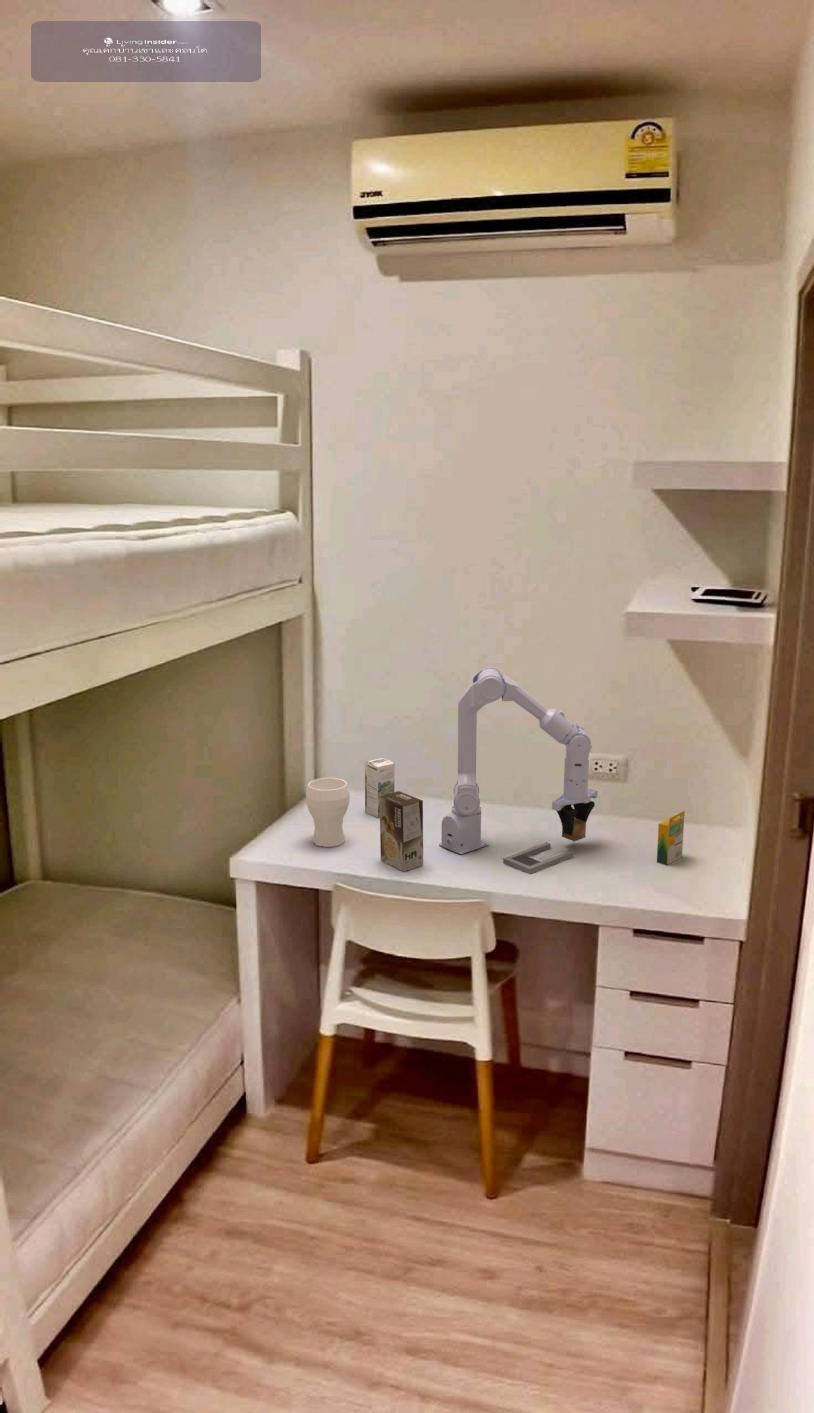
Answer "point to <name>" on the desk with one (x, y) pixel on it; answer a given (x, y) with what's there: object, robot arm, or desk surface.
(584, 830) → the walnut block
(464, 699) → the robot arm
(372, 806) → the syrup box
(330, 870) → the desk surface
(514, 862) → the guide channel
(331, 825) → the cup
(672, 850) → the crayon box
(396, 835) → the coffee box
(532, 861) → the pad
